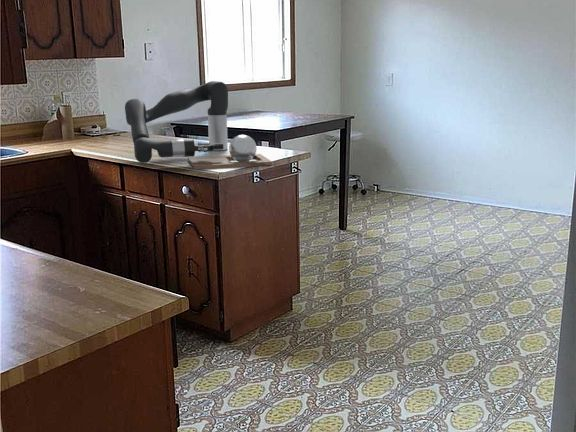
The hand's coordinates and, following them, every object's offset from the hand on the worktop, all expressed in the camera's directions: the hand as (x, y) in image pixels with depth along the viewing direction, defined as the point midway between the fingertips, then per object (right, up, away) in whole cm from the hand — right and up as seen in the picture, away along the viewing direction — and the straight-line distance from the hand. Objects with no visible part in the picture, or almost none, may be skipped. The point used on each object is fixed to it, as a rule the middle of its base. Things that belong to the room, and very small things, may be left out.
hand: (222, 146), depth 271 cm
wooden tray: (+3, -7, +3) cm, 8 cm away
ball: (+8, -1, +3) cm, 9 cm away
